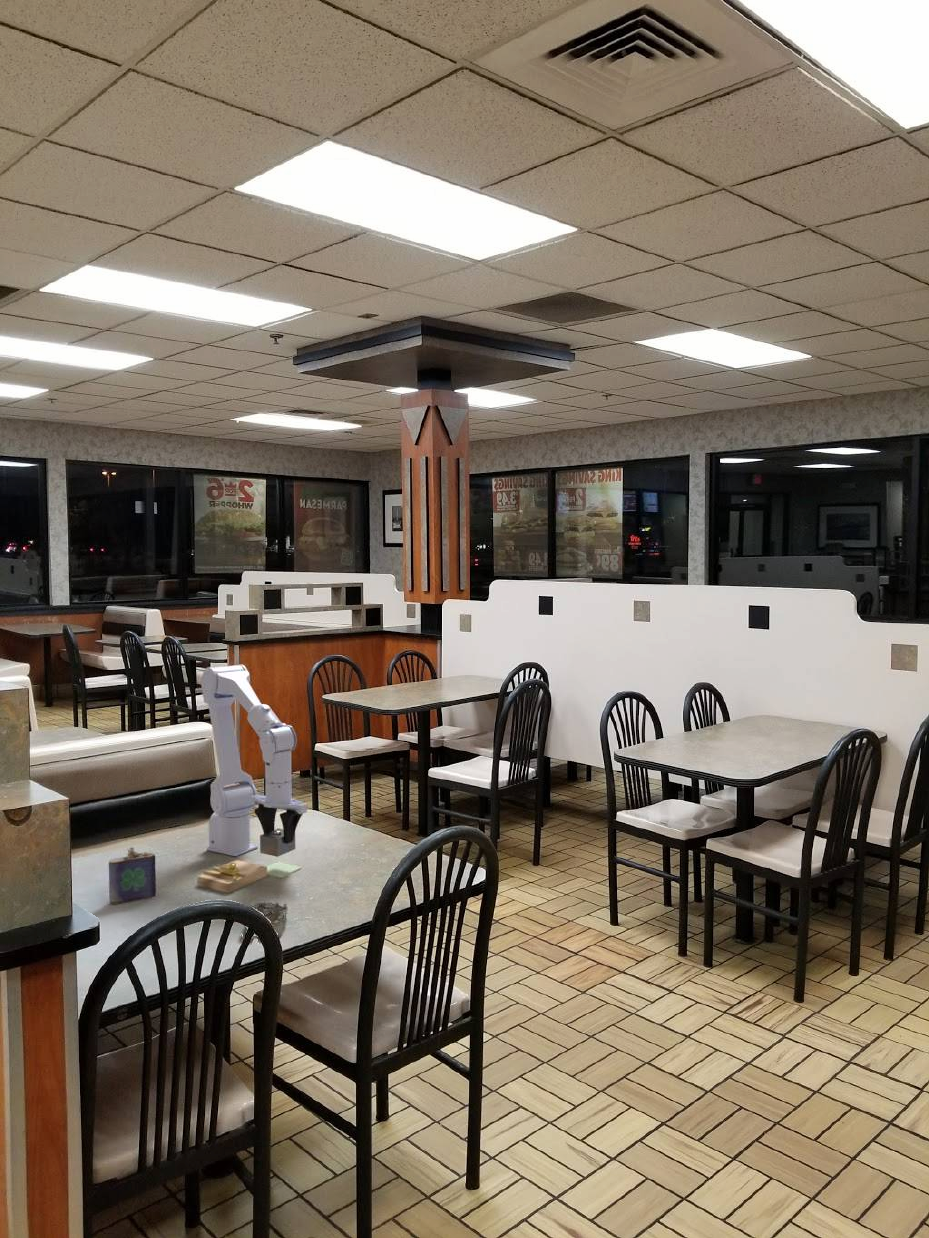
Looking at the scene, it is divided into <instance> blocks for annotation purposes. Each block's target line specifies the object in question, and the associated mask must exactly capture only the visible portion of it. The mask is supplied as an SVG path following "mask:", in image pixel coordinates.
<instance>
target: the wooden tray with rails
mask: <svg viewBox="0 0 929 1238" xmlns="http://www.w3.org/2000/svg"><path fill="white" fill-rule="evenodd" d="M231 863H235V864H236V867H238V868H239V877H237V878H236V877H232V876H227V875H223V874H220V866H215V865H214V866H212V869H211V870H206V869H205V870H203V873H201V874H199V875H197V876H196V885H197V886H199V887H202V888H206V889H209V890H214V891H217V892H222V893H226V894H230V893H232V892H234V891H236V890H239V889H241V888H244V887H246V886H248V885H250V884H252V883H254V882H258V880H260V879H263V878H265V877H267V876H268V875H267V866H265V865H262V864H261V865H259V864H256V863H251V862H247V861H243V860H239V859H234V860H233V861H230V862H228V863H225V864H224V865H229V864H231Z"/></svg>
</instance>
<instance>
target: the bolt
mask: <svg viewBox="0 0 929 1238" xmlns="http://www.w3.org/2000/svg"><path fill="white" fill-rule="evenodd" d="M219 867H220V874H223V875H227V876H232V877H236V878H237V877H239V868H238V867H236V864H235V863H231V864H229V865H225V864H223V865H222V864H221V865H220V866H219Z"/></svg>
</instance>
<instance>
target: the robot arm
mask: <svg viewBox="0 0 929 1238" xmlns="http://www.w3.org/2000/svg"><path fill="white" fill-rule="evenodd" d="M250 676H251V675H250V672H249V671H248V669H247V668H246V666H245V665H244V664H241V663H240V664H237V665H236V664H235V665H227V666H226V665H224V666H216V667H215V666H214V667H211V666H209V667H205V669H204V670H203V673H202V674H201V678H200V686H201V692H202V698H203V702H204V703H205V704H206V705H208V711H209V715H210V722H211V728H212V729H211V730H212V734H213V740H214V741H213V742H214V747H215V753H216V759H217V764H218V771H219V774H218V776H217V777H216V778H215V779H214V780H213V781H212V782H211V784H210V807H211V808H212V811H213V813H212V814H211V815H210V818H209V822H208V846H207V847H206V851H211V852H215V853H220V854H224V855H228V856H233V857H238V856H240V855H242V854H244V853H245V854H246V853H247V852H250V851H253V850H255V849H257V848H259V845H258V844H254V843H251V813H252V812H253V809H254V808H255V807H256V805H257V806H258V807H257V808H255V809H254V814H255V815H256V818H257V819H258V820H259V823H260V825H261V828H262V832H263V834H265V833H267V832H270V831H272V830H275V821H276V815H277V811H278V810H283V811H284V812H282V813H279V817H280V820H281V824H282V829H283V831H284V842H285V843H286V844H288V843H290V842H293V838H294V834H295V835H296V829H297V827H298V824H299V822H300V820H301V817H302V816H303V814H306V813H307V812H308V803H305V802H302V801H300V800H298V799H295V798H293V797H292V795H293V794H292V792H293V791H292V789H293V788H292V785H293V784H292V779H293V778H292V751H294V750H295V749H296V746H297V743H298V742H297V734H296V732H295V729H294V727H293V726H292V725H290V724H286V723H285V722H284V723H283V722H282V721H281V720H280V719H279V718H278V716H277V715H276V714H275V712H274V711H273V710H272V708H271V707H270V706H269V705H268V704H265V703H264V704H263V703H261V701H260V699H259V698H258V696H257V694H256V692H255V690H254V689H253V687H252V685H251V677H250ZM235 701H237V702H238V703H239V704H240V705H241V706H242V708H243V709H244V710H245V711H246V712H247V713H248V714H247V717H246V718H247V719H246V720H247V721H248V723H249V725H250V726H251V727H252V728H253V730H254V731H255V733H256V734H257V736H258V737H259V738H260V739H259V740H258V742H259V747H260V749H261V753H262V760H263V762H264V766H265V767H264V768H265V769H264V773H265V774H264V776H265V781H264V782H265V786H264V787H265V788H264V789H265V795H263V794H261V795H260V794H258V791H257V788H256V787H255V785H254V781H253V777H252V775H250V774H248V773H247V772H245V771H243V770H242V764H241V758H240V753H239V746H238V740H237V734H236V729H235V722H234V715H233V711H232V705H233V703H234V702H235ZM233 784H235V785H233ZM227 785H229V786H227Z"/></svg>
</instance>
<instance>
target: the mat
mask: <svg viewBox="0 0 929 1238" xmlns="http://www.w3.org/2000/svg"><path fill="white" fill-rule="evenodd" d="M266 867H267V876H270V877H274V878H279V879H283V878H285V877H287V876H288V875H291V874H293V873H295V872H297V871H299V870H302V868H303V867H302V866H298V865H293V864H288V863H285V862H280V861H277V862H274V863H272V864H269V865H267V866H266Z"/></svg>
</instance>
